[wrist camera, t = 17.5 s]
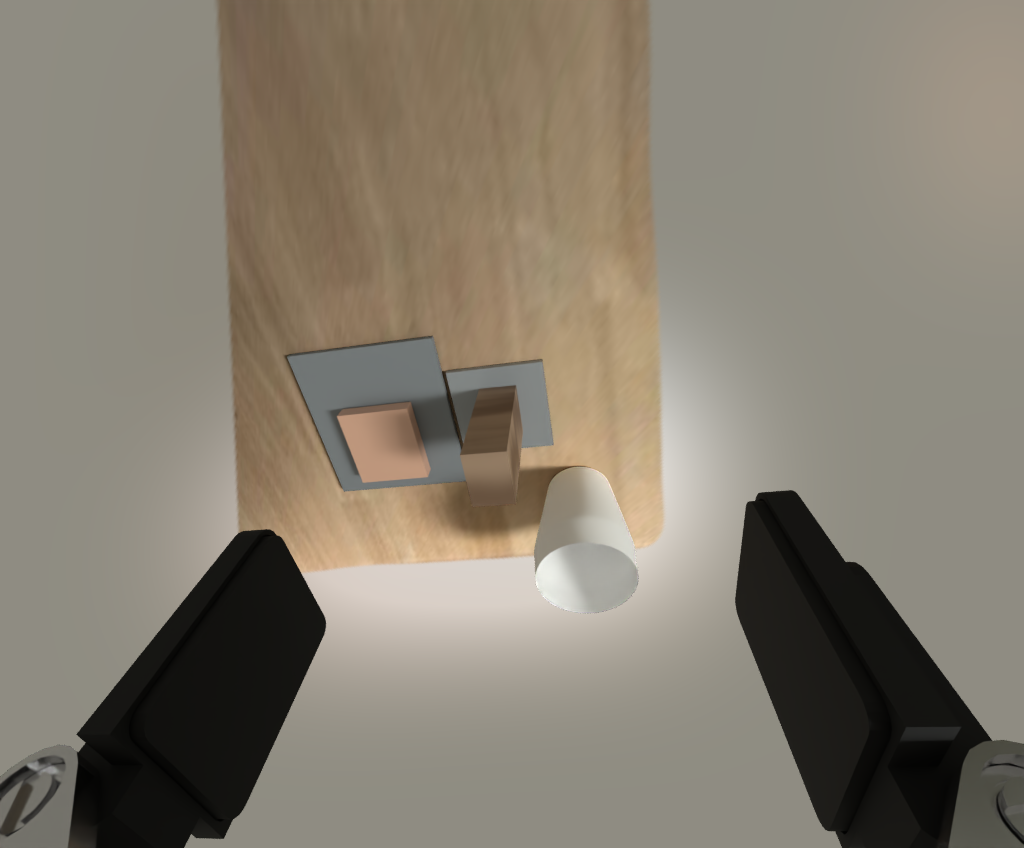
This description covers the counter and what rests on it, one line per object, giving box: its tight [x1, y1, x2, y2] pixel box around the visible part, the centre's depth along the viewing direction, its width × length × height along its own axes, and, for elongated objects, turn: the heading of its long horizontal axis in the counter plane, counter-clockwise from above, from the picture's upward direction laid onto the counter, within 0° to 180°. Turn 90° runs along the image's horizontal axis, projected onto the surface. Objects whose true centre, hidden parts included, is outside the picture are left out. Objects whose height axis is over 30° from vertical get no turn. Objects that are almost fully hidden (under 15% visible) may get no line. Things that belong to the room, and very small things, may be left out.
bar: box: [460, 385, 523, 507], centre depth 41 cm, size 5×4×11 cm
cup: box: [534, 467, 638, 613], centre depth 45 cm, size 9×9×12 cm
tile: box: [337, 402, 431, 483], centre depth 47 cm, size 2×7×8 cm
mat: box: [287, 336, 466, 491], centre depth 47 cm, size 16×14×1 cm
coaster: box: [446, 359, 554, 448], centre depth 46 cm, size 9×9×1 cm
